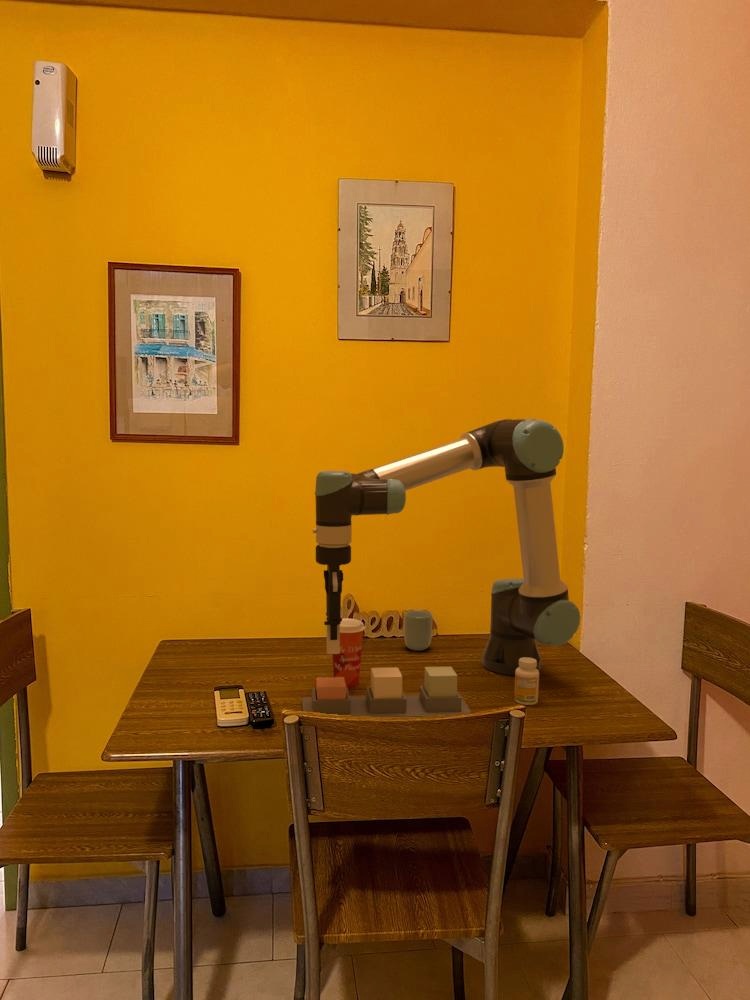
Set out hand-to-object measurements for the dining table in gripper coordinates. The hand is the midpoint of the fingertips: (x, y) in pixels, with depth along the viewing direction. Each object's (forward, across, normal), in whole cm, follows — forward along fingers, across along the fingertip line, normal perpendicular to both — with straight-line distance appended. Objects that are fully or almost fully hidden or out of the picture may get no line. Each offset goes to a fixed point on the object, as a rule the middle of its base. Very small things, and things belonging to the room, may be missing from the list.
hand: (333, 652), depth 160 cm
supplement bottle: (+14, -4, +44) cm, 47 cm away
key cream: (+10, 0, +12) cm, 15 cm away
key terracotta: (+11, 0, -1) cm, 11 cm away
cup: (+14, -44, +26) cm, 53 cm away
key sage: (+10, 0, +23) cm, 25 cm away
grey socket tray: (+14, 0, +12) cm, 18 cm away
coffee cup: (+14, -18, +4) cm, 23 cm away
